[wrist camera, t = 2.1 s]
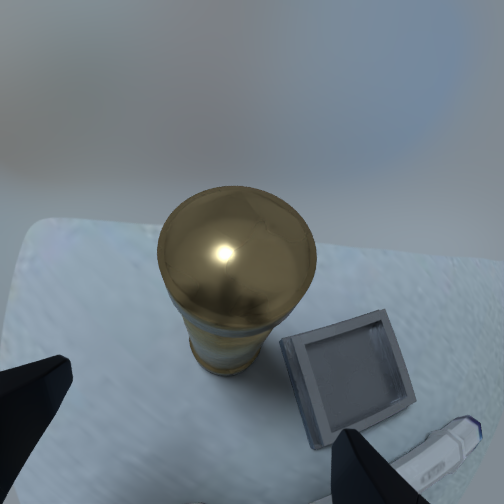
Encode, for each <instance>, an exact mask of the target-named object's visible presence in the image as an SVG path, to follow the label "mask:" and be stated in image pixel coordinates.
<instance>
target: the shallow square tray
mask: <svg viewBox="0 0 504 504" xmlns="http://www.w3.org/2000/svg"><path fill="white" fill-rule="evenodd" d="M279 343H280V346H281V350H282V353H283V357H284V360H285V363H286V367H287V370H288V373H289V377H290V380H291V383H292V387H293V390H294V394H295V397H296V400H297V404H298V407H299V410H300V414H301V417H302V420H303V424H304V427H305V431H306V434H307V437H308V441H309V444H310V447H311V448H312V449H315V450H316V449H319V448H321V447H324V446H327V445H329V444H332V443H334V441H335V440H336V438H337V437H338V435H339V434H340V432H341V431H342V430H343V429H344V428H351V429H356V430H357V431H358V432H360V431H362V430H364V429H366V428H368V427H370V426H372V425H374V424H376V423H378V422H380V421H382V420H384V419H386V418H388V417H390V416H392V415H393V414H395V413H397V412H399V411H401V410H403V409H404V408H406V407H408V406H409V405H411V404H413V403H415V402H416V397H415V394H414V390H413V387H412V384H411V381H410V377H409V374H408V371H407V368H406V365H405V362H404V359H403V356H402V353H401V350H400V348H399V345H398V342H397V339H396V336H395V334H394V331H393V328H392V326H391V323H390V320H389V318H388V315H387V313H386V310H385V309H383V310H380V311H379V310H376V311H373V312H370V313H367V314H364V315H361V316H358V317H355V318H352V319H349V320H346V321H342V322H339V323H336V324H333V325H329V326H326V327H322V328H319V329H315V330H312V331H308V332H305V333H301V334H297V335H293V336H290V337H286V338H282V339H281V340H280V341H279Z"/></svg>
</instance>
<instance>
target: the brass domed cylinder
mask: <svg viewBox="0 0 504 504" xmlns="http://www.w3.org/2000/svg"><path fill="white" fill-rule="evenodd" d="M157 259H158V264H159V269H160V272H161V275H162V277H163V280H164V283H165V286H166V288H167V291H168V294H169V296H170V298H171V300H172V302H173V304H174V306H175V307H176V308H177V310H178V311H179V312H180V313H181V314H182V317H183V320H184V323H185V325H186V328H187V331H188V334H189V342H190V347H191V350H192V353H193V355H194V357H195V359H196V360H197V362H198V363H199V364H200V365H201V366H202V367H203V368H204V369H205V370H207V371H209V372H211V373H213V374H216V375H221V376H230V375H235V374H238V373H240V372H242V371H244V370H246V369H247V368H248V367H249V366H250V365H251V364H252V363H253V362H254V360H255V359H256V357H257V356H258V354H259V352H260V349H261V345H262V344H263V342H264V341H265V340H266V338H267V337H268V335H269V334H270V332H271V331H272V329H273V328H274V327H275V326H277V325H279V324H280V323H281V322H282V321H283V320H285V319H286V318H287V317H288V316H289V314H290V313H291V312H292V311H293V309H294V308H295V307H296V305H297V304H298V303H299V301H300V300H301V299H302V297H303V296H304V294H305V293H306V291H307V290H308V288H309V286H310V284H311V282H312V280H313V277H314V274H315V270H316V262H317V254H316V246H315V242H314V239H313V236H312V233H311V231H310V229H309V227H308V225H307V224H306V222H305V221H304V219H303V218H302V217H301V216H300V215H299V213H298V212H297V211H296V210H294V209H293V208H292V207H291V206H290V205H289V204H287V203H286V202H285V201H283V200H282V199H280V198H278V197H277V196H275V195H272V194H270V193H268V192H265V191H262V190H259V189H255V188H251V187H244V186H223V187H217V188H212V189H208V190H205V191H203V192H200V193H198V194H195V195H194V196H192V197H190V198H188V199H187V200H185V201H184V202H183V203H181V204H180V205H179V206H178V207H177V208H176V209H175V210H174V211H173V212H172V213H171V214H170V216H169V217H168V219H167V220H166V222H165V223H164V226H163V228H162V230H161V233H160V236H159V240H158V247H157Z"/></svg>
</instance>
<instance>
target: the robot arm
mask: <svg viewBox="0 0 504 504" xmlns="http://www.w3.org/2000/svg"><path fill="white" fill-rule="evenodd" d="M72 381H73V374H72V368H71V362H70V360H69V359H68V358H66V357H64V356H62V355H56V356H52V357H49V358H46V359H42V360H39V361H36V362H32V363H29V364H25V365H22V366H18V367H15V368H11V369H8V370H4V371H1V372H0V504H3V502H4V500H5V498H6V496H7V494H8V492H9V490H10V488H11V487H12V485H13V483H14V481H15V479H16V478H17V476H18V474H19V472H20V471H21V469H22V467H23V466H24V464H25V462H26V461H27V459H28V457H29V456H30V454H31V452H32V451H33V449H34V448H35V446H36V444H37V443H38V441H39V440H40V438H41V436H42V435H43V433H44V432H45V430H46V429H47V427H48V426H49V424H50V422H51V421H52V419H53V418H54V416H55V415H56V413H57V411H58V409H59V407H60V405H61V403H62V401H63V399H64V397H65V395H66V393H67V391H68V389H69V388H70V386H71V384H72ZM331 494H332V504H430V503H429V502H428V501H427V500H426V499H424V498H423V497H422V496H421V495H420V494H418V492H417V491H416V490H415V489H414V488H413V487H412V486H411V485H410V484H409V483H408V482H407V481H406V480H405V479H404V478H403V477H402V476H401V475H400V474H399V473H398V472H397V471H396V470H395V469H394V468H393V467H392V466H391V465H390V464H389V463H388V462H387V461H386V460H385V459H384V458H383V457H382V456H381V455H380V454H379V453H378V452H377V451H376V450H375V449H374V448H373V447H372V446H371V444H370V443H369V442H368V441H367V440H366V439H365V438H364V437H363V436H362V435H361V434H360V433H359V432H358V431H357V430H356V429H351V428H344V429H343V430H342V431H341V432H340V434H339V435H338V437H337V438H336V440H335V441H334V443H333V445H332V460H331Z"/></svg>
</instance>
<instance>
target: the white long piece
mask: <svg viewBox="0 0 504 504" xmlns="http://www.w3.org/2000/svg"><path fill="white" fill-rule="evenodd" d="M482 438H483V437H482V430H481V423H480V422H478V421H477V420H476V419H474V418H473V417H472V416H470V415H466V416H462V417H457V418H455V419H454V420H453V421H452V422H450V423H449V424H448V425H446V426H445V427H444V428H442V429H441V430H435V431H432V432H431V433H430V435H429V436H428V438H427V439H426V441H425V442H423V443H422V444H420V445H419V446H418V447H416V448H415V449H413V450H412V451H410V452H409V453H407V454H406V455H404V456H403V457H401V458H399V459H398V460H396V461H395V462H393V463H391V464H390V465H391V466H392V467H393V468H394V469H395V470H396V471H397V472H398V473H399V474H400V475H401V476H402V477H403V478H404V479H405V480H406V481H407V482H408V483H409V484H410V485H411V486H412V487H413V488H414V489H415V490H416V491H417V492H418V494H420V493H422V492H423V491H425V490H426V489H428V488H429V487H431V486H432V485H433V484H435V483H436V482H438V481H439V480H440V479H442V478H443V477H444V476H446V475H447V474H453V473H455V472H456V470H457V469H458V468H459V467H460V466H461V464H462V463H463V462H464V461H465V459H466V457H467V456H468V455H469V454H470V453H471V452H472V451H473V450H474V449H475V448H476V446H477V445H478V444H479V442H480V441H481V440H482ZM189 504H203V503H202V502H198V503H189ZM309 504H332V494H331V495H329V496H327V497H324V498H322V499H319V500H317V501H314V502H312V503H309Z"/></svg>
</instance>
